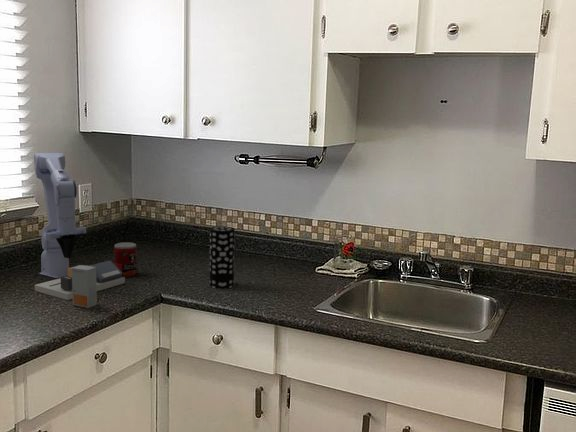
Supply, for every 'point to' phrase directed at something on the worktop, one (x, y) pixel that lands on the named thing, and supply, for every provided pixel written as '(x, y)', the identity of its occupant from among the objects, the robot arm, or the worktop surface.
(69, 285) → the black fader knob
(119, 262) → the canned food
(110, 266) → the rocker
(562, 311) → the worktop surface
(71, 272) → the orange fader knob
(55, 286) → the panel
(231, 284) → the white-spotted black cylinder
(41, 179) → the robot arm
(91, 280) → the skincare box
